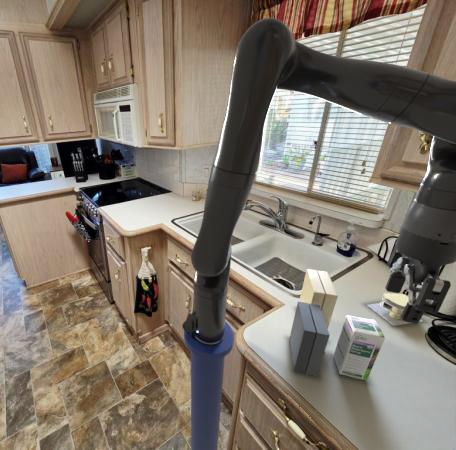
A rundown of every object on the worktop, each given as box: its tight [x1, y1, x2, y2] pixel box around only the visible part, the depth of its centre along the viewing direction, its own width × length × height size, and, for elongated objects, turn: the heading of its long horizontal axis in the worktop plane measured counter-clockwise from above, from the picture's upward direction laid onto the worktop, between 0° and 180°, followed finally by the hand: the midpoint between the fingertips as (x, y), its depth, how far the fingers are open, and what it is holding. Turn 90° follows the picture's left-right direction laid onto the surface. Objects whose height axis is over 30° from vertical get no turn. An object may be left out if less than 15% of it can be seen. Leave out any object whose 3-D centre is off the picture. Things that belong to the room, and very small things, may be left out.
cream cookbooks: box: [298, 268, 339, 330], centre depth 73 cm, size 5×11×16 cm, turn 160°
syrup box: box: [333, 314, 386, 381], centre depth 60 cm, size 6×6×14 cm
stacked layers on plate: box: [366, 292, 423, 327], centre depth 77 cm, size 10×9×6 cm
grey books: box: [288, 301, 330, 377], centre depth 63 cm, size 5×10×14 cm, turn 160°
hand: (399, 305), depth 48 cm, fingers open, 8 cm apart
